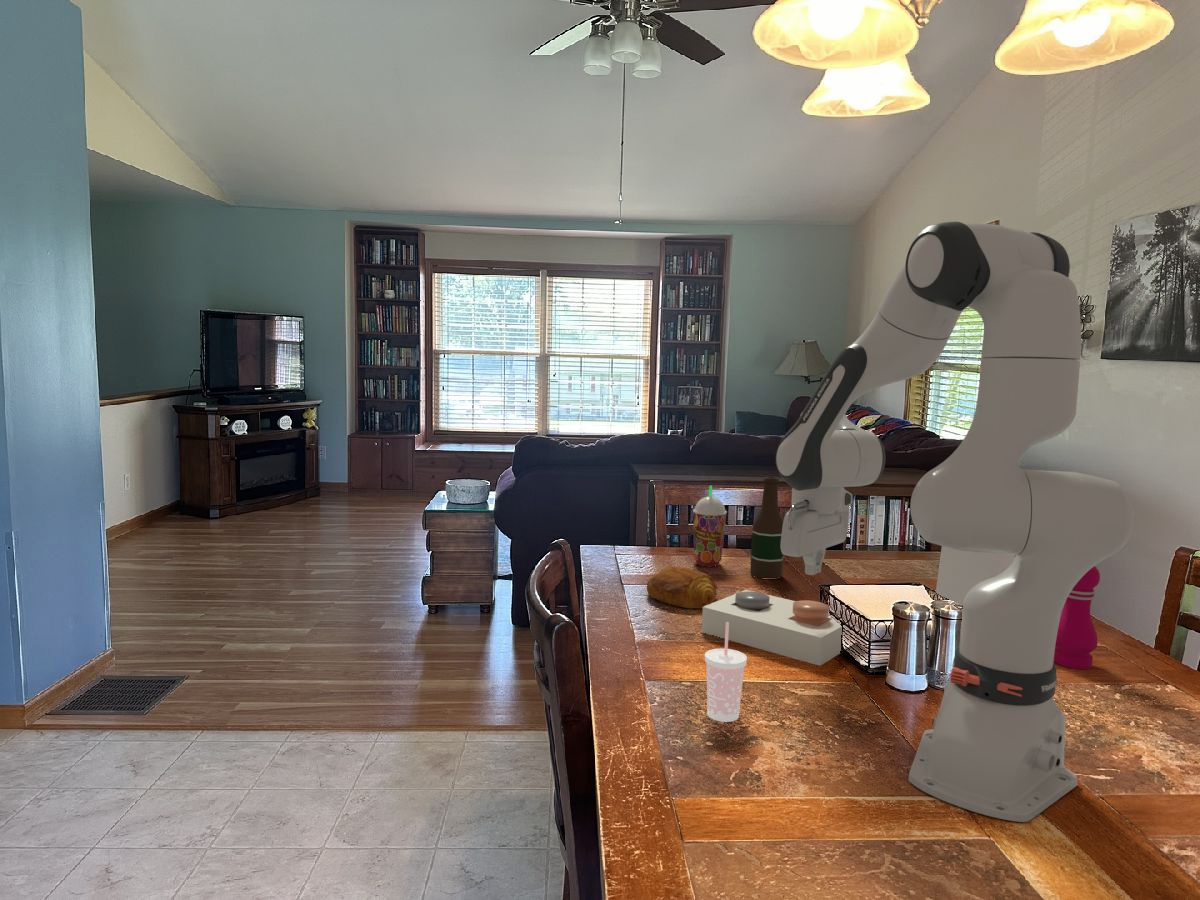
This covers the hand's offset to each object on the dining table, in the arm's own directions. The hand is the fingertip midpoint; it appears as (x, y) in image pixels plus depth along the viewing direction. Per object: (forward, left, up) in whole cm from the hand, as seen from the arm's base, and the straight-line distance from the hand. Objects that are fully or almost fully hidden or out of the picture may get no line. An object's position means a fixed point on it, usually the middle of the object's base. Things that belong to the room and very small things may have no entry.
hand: (812, 573), depth 148 cm
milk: (+37, -18, -14) cm, 44 cm away
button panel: (0, +6, -14) cm, 15 cm away
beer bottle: (+37, +29, -14) cm, 49 cm away
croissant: (+8, +33, -14) cm, 36 cm away
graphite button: (0, +12, -13) cm, 18 cm away
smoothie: (+36, +45, -14) cm, 60 cm away
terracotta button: (0, 0, -13) cm, 13 cm away
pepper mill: (+25, -38, -14) cm, 48 cm away
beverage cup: (-36, -4, -14) cm, 38 cm away
